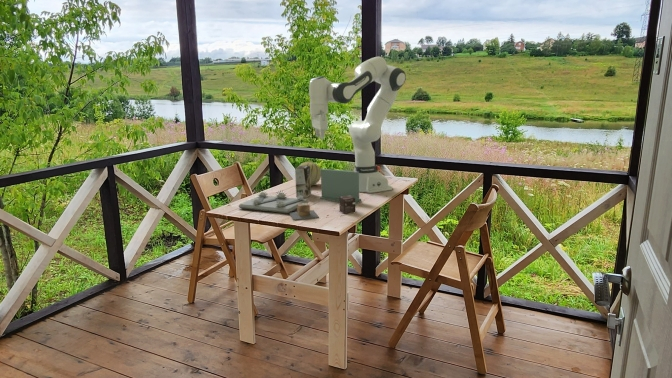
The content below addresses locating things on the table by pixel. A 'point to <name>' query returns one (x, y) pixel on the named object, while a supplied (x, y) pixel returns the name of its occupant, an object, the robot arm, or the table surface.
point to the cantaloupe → (313, 172)
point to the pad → (297, 217)
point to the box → (347, 204)
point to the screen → (339, 184)
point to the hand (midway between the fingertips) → (320, 137)
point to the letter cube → (303, 209)
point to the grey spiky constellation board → (273, 203)
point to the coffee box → (303, 181)
